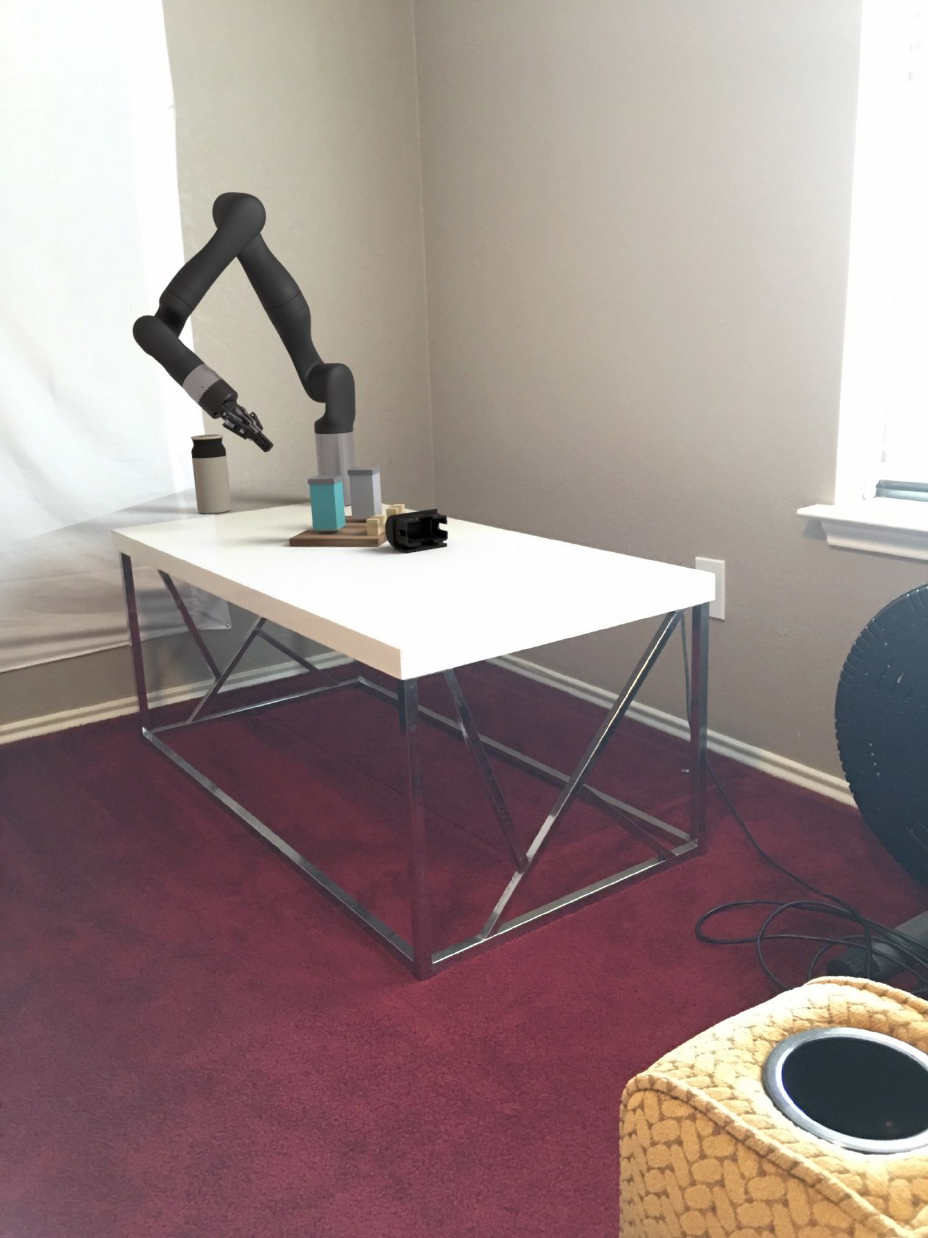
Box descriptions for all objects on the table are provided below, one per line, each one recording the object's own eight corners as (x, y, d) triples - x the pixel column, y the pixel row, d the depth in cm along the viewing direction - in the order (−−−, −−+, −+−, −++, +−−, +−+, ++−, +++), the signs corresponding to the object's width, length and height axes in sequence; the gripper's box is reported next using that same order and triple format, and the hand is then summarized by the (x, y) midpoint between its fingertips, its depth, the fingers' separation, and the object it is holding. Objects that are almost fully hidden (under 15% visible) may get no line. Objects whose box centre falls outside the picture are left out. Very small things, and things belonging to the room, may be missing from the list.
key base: (335, 522, 226) (333, 502, 225) (414, 522, 222) (413, 501, 221) (289, 546, 201) (287, 523, 200) (378, 546, 197) (376, 523, 196)
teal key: (321, 524, 209) (317, 475, 206) (346, 524, 207) (343, 474, 205) (311, 529, 204) (307, 479, 201) (337, 529, 202) (333, 478, 200)
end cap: (430, 541, 201) (428, 506, 199) (450, 546, 195) (448, 510, 193) (385, 548, 195) (383, 513, 194) (404, 554, 190) (402, 517, 188)
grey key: (359, 513, 220) (355, 466, 217) (383, 513, 219) (380, 466, 216) (350, 518, 215) (347, 470, 212) (375, 518, 214) (372, 469, 211)
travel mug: (237, 508, 251) (230, 433, 247) (222, 514, 244) (214, 437, 239) (207, 508, 253) (199, 434, 248) (192, 514, 246) (183, 437, 241)
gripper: (206, 379, 210) (268, 439, 210) (234, 376, 222) (292, 432, 223) (185, 406, 212) (246, 465, 213) (213, 402, 225) (271, 458, 225)
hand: (269, 448), depth 218 cm, fingers closed
